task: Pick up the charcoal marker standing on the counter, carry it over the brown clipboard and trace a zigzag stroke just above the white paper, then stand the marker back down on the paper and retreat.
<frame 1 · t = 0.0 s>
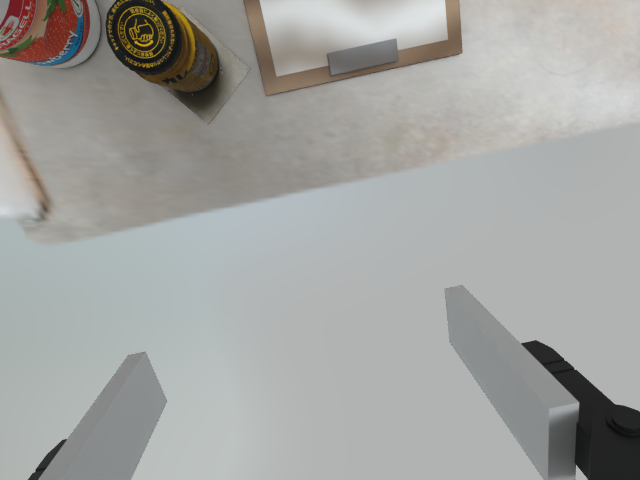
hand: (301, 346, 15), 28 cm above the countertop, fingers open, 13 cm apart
fruit juice: (54, 17, 35), on the countertop
condiment: (196, 68, 37), on the countertop
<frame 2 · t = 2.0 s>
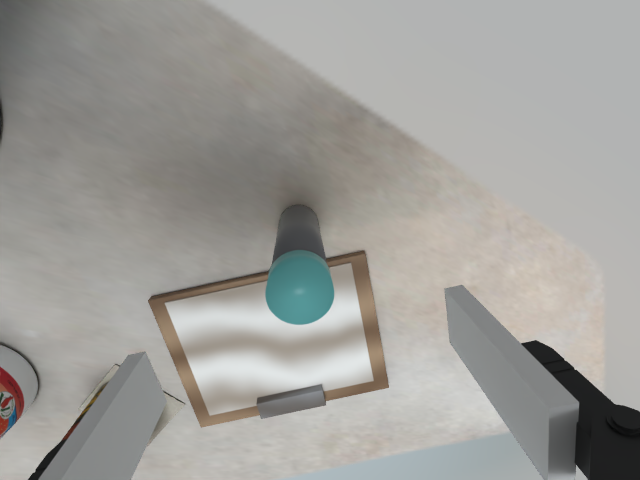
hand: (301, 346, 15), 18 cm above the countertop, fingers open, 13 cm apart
marker: (298, 223, 33), on the countertop
clipboard: (277, 342, 37), on the countertop
condiment: (133, 404, 38), on the countertop
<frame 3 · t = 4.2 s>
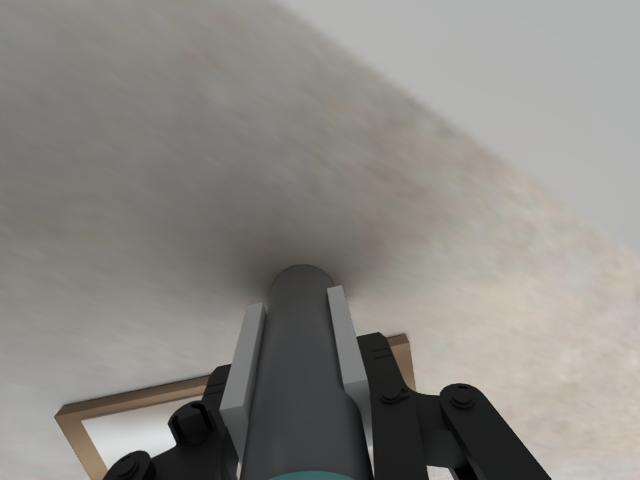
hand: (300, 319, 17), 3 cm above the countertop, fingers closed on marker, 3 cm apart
marker: (303, 294, 20), on the countertop, touching gripper
clipboard: (266, 466, 24), on the countertop
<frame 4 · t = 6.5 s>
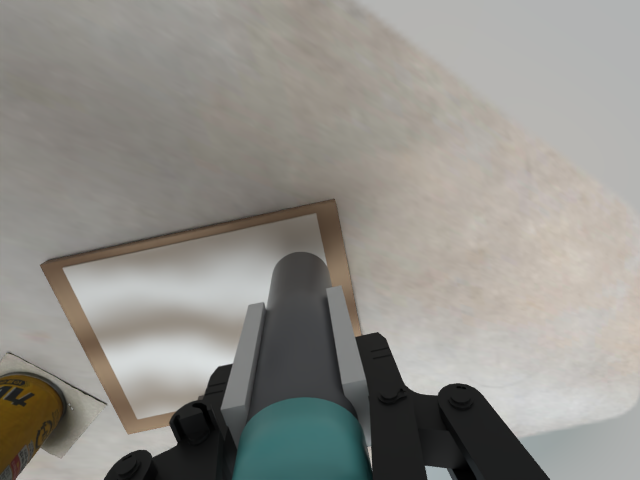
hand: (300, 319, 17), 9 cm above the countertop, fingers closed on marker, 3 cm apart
marker: (301, 278, 22), point 5 cm above the countertop, touching gripper
clipboard: (223, 323, 28), on the countertop
condiment: (39, 404, 30), on the countertop
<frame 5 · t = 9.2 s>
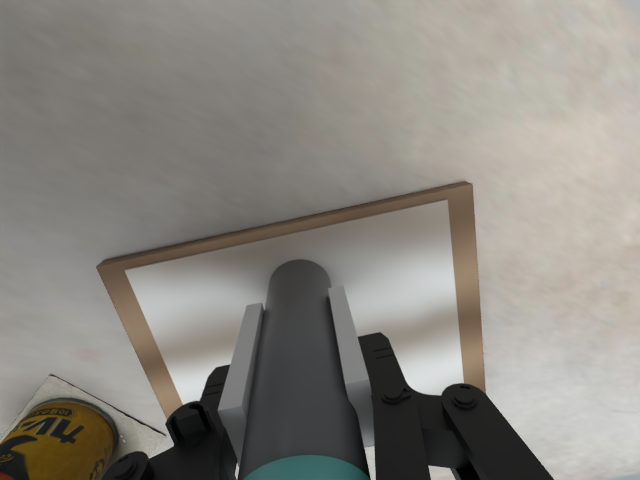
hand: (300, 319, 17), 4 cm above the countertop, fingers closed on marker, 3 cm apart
marker: (300, 288, 20), point 1 cm above the countertop, touching clipboard, gripper
clipboard: (313, 338, 23), on the countertop
condiment: (85, 436, 24), on the countertop
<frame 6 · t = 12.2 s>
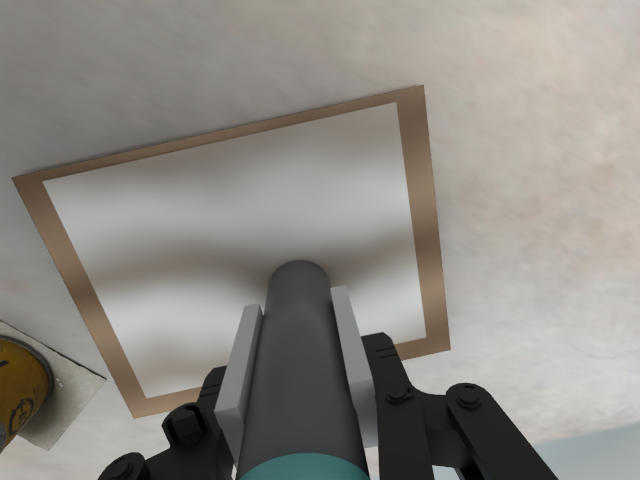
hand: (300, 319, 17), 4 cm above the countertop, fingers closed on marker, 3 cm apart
marker: (299, 289, 20), point 1 cm above the countertop, touching gripper
clipboard: (260, 269, 21), on the countertop
condiment: (19, 379, 23), on the countertop
when the fingers open (4 cm above the countertop, at t = 14.2 s): marker stays where it is, resting on clipboard.
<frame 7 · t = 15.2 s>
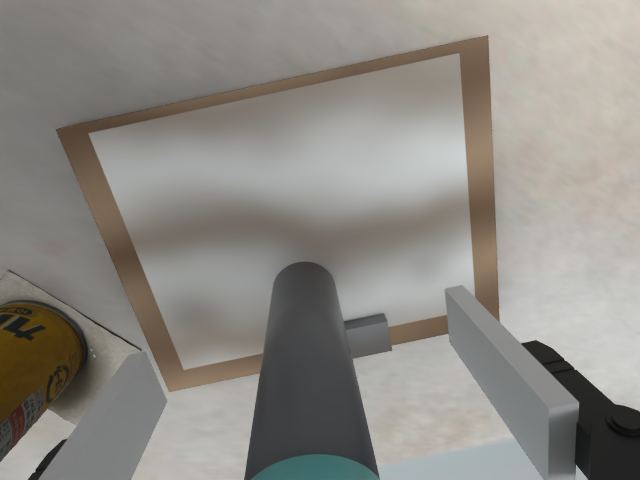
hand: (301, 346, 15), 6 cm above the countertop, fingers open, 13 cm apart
marker: (304, 290, 20), point 1 cm above the countertop, touching clipboard
clipboard: (306, 234, 20), on the countertop
condiment: (51, 349, 22), on the countertop
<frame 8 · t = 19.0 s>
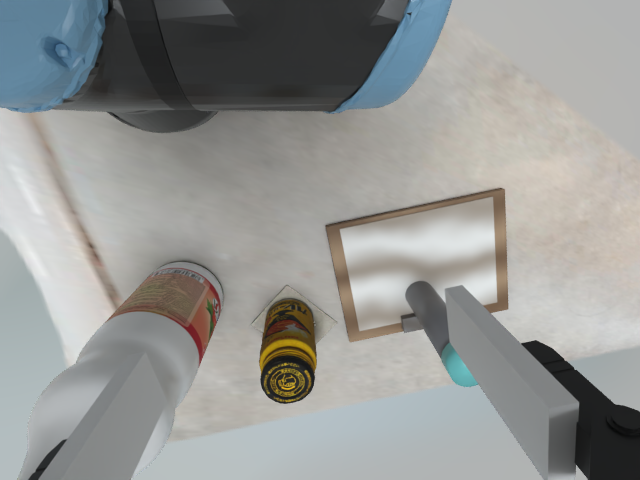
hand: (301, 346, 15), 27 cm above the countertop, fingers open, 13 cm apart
marker: (419, 293, 44), point 1 cm above the countertop, touching clipboard
fruit juice: (186, 294, 44), on the countertop
clipboard: (420, 268, 44), on the countertop
condiment: (294, 322, 46), on the countertop
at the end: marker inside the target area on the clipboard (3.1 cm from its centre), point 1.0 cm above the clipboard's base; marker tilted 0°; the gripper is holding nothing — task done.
